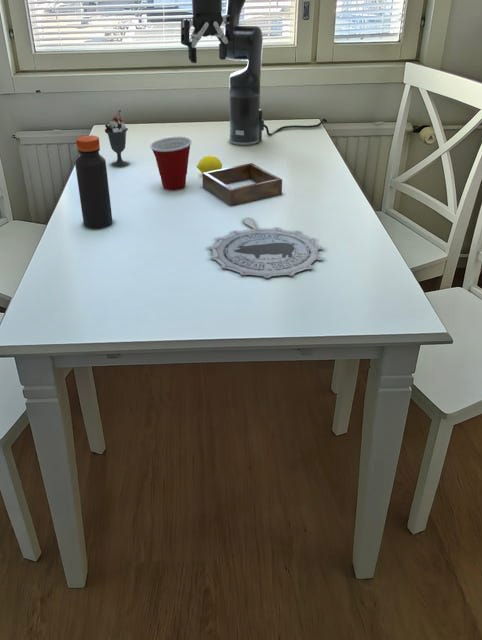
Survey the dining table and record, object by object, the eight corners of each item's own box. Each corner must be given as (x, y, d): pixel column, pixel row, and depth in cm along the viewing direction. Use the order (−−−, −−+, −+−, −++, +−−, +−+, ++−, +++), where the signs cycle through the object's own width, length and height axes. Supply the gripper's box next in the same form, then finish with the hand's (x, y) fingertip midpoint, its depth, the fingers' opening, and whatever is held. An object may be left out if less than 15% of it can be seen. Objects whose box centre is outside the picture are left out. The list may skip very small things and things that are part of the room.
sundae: (133, 160, 188) (128, 108, 180) (128, 168, 182) (123, 114, 174) (111, 160, 188) (105, 108, 180) (106, 168, 183) (100, 114, 175)
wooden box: (251, 177, 173) (251, 162, 171) (281, 194, 162) (282, 179, 160) (202, 187, 168) (202, 172, 165) (230, 206, 156) (230, 190, 154)
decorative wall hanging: (339, 272, 125) (301, 214, 150) (339, 271, 125) (301, 213, 150) (217, 282, 123) (199, 222, 148) (217, 281, 123) (199, 221, 148)
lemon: (221, 171, 178) (220, 152, 175) (223, 177, 173) (223, 158, 170) (196, 172, 177) (195, 153, 174) (198, 179, 173) (197, 159, 170)
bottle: (78, 223, 150) (66, 138, 139) (103, 215, 153) (93, 132, 142) (92, 232, 145) (80, 145, 134) (118, 224, 149) (108, 138, 138)
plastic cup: (152, 180, 173) (149, 136, 166) (192, 178, 173) (190, 134, 167) (153, 195, 164) (149, 149, 157) (194, 193, 164) (193, 146, 158)
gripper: (187, -6, 153) (190, 66, 161) (238, -10, 158) (238, 60, 167) (174, -8, 158) (177, 61, 167) (224, -12, 164) (225, 56, 172)
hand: (208, 61), depth 167 cm, fingers open, 8 cm apart
